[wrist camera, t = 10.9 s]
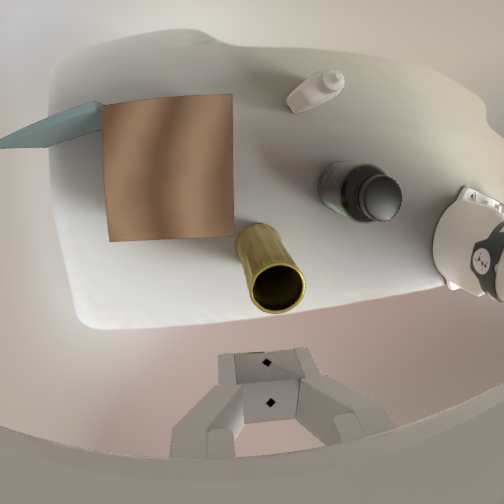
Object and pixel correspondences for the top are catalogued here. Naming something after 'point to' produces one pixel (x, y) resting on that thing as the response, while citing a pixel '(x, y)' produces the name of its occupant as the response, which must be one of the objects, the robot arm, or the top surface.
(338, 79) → the eye dropper bottle
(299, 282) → the vase
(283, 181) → the top surface
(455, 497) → the robot arm
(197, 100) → the cabinet box
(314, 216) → the top surface
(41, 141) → the door
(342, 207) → the supplement bottle
